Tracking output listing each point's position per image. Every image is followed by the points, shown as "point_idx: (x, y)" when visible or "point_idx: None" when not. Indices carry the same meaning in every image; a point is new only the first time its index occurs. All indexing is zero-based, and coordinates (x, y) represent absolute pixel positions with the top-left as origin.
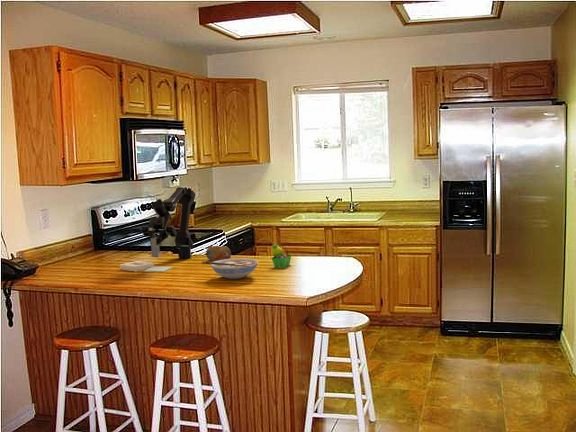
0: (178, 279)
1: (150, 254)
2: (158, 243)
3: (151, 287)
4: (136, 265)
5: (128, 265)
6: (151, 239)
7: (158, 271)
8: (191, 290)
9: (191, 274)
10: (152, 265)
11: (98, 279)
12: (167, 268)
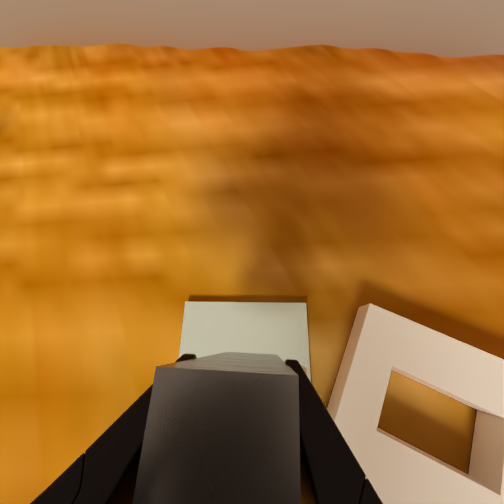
0: (78, 170)
1: None
2: None
3: (146, 74)
4: (395, 350)
5: (457, 348)
6: (279, 372)
7: (216, 302)
8: (19, 63)
9: (32, 260)
10: None
11: (422, 140)
12: None
